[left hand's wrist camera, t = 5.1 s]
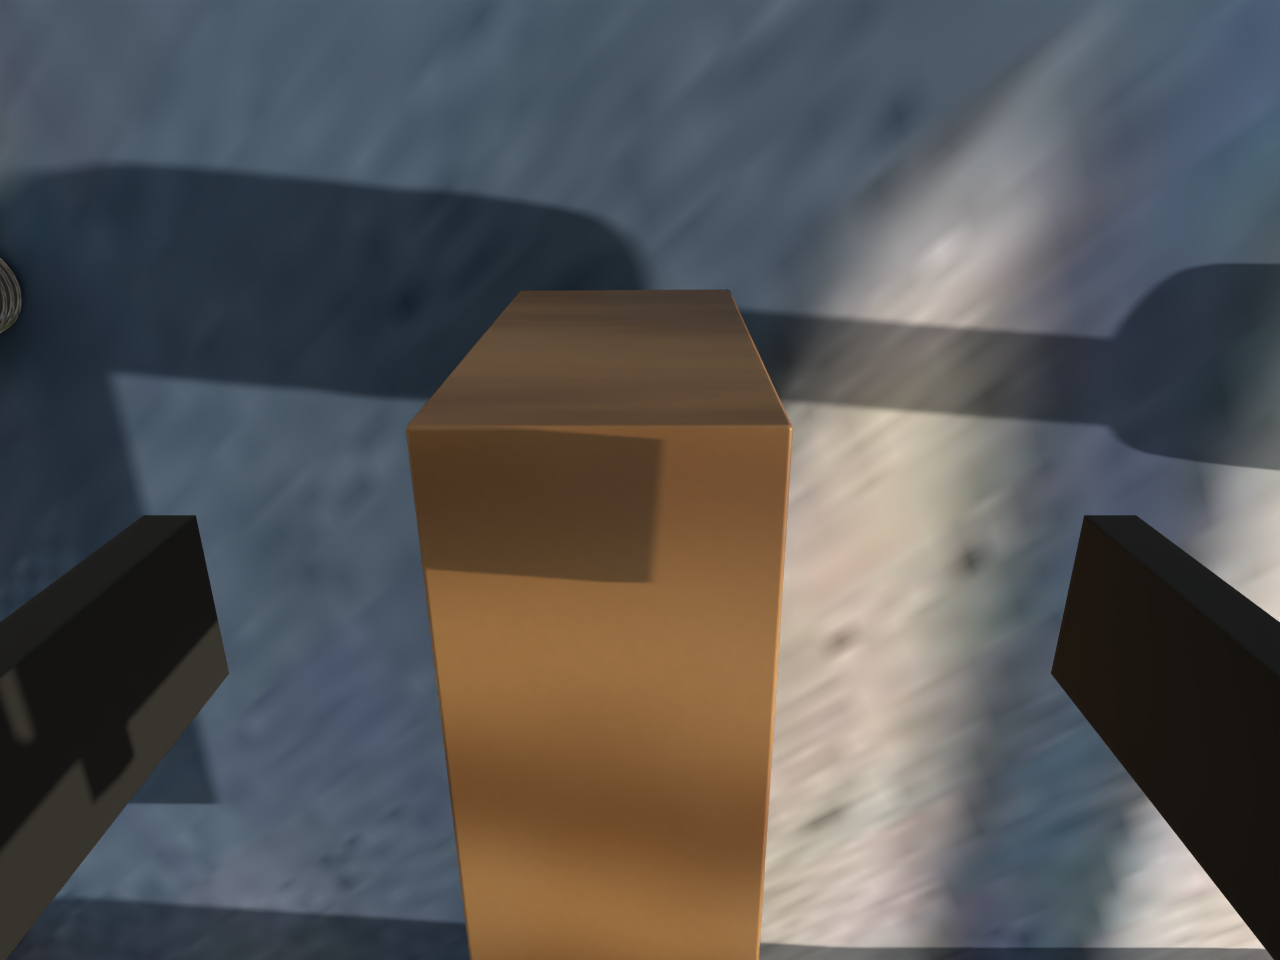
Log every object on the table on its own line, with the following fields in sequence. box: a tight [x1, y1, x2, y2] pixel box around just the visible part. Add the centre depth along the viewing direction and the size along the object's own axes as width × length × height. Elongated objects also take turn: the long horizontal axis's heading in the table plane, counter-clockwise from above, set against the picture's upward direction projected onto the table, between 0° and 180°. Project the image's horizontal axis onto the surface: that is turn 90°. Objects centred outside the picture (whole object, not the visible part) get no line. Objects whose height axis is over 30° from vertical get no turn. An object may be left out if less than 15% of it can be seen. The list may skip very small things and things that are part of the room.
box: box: [406, 290, 793, 960], centre depth 25 cm, size 28×6×13 cm, turn 0°
